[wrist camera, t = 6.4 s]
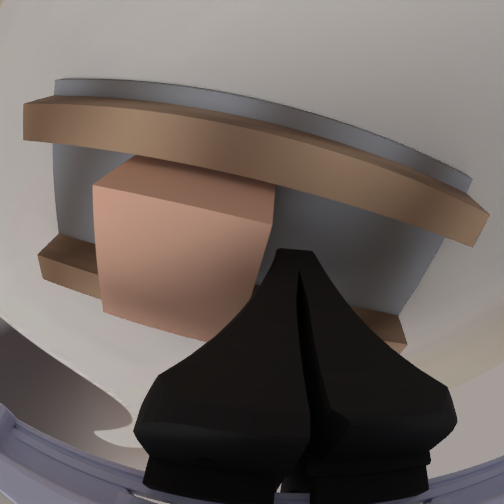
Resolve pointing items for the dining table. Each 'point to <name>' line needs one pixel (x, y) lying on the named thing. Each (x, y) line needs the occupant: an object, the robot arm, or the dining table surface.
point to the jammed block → (179, 243)
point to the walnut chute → (264, 169)
